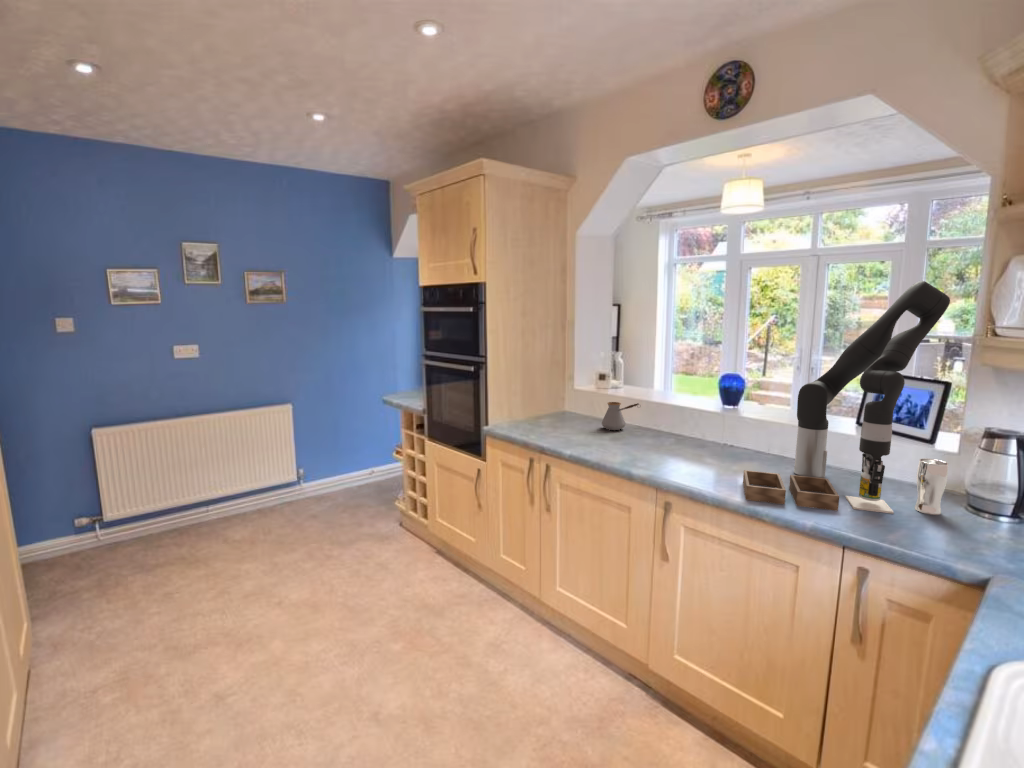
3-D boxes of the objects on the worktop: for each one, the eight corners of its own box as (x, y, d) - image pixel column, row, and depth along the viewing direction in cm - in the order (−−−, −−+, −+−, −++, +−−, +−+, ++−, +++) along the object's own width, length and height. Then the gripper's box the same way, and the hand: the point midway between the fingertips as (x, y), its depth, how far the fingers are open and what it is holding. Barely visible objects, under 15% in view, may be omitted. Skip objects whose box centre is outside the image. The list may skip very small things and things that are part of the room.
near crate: (826, 492, 170) (827, 478, 170) (837, 510, 155) (839, 496, 154) (789, 488, 174) (790, 474, 173) (796, 505, 158) (797, 491, 158)
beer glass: (913, 504, 160) (919, 456, 157) (942, 510, 155) (949, 461, 153) (912, 511, 154) (917, 462, 152) (942, 517, 150) (949, 466, 148)
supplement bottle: (884, 501, 156) (887, 470, 155) (866, 501, 156) (869, 470, 155) (872, 495, 161) (875, 464, 160) (854, 495, 161) (857, 464, 160)
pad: (883, 501, 162) (883, 499, 162) (893, 513, 153) (893, 511, 153) (845, 497, 165) (845, 495, 165) (853, 508, 156) (853, 507, 156)
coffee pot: (596, 428, 257) (597, 398, 255) (612, 425, 264) (613, 395, 262) (629, 437, 240) (631, 405, 238) (646, 433, 247) (647, 402, 245)
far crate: (778, 486, 175) (779, 473, 174) (784, 504, 160) (785, 490, 159) (742, 482, 179) (743, 470, 178) (745, 499, 163) (746, 485, 163)
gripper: (898, 444, 148) (892, 502, 151) (883, 432, 161) (877, 486, 164) (867, 441, 151) (861, 498, 153) (855, 430, 164) (849, 483, 167)
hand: (869, 491), depth 159 cm, fingers closed on supplement bottle, 5 cm apart
